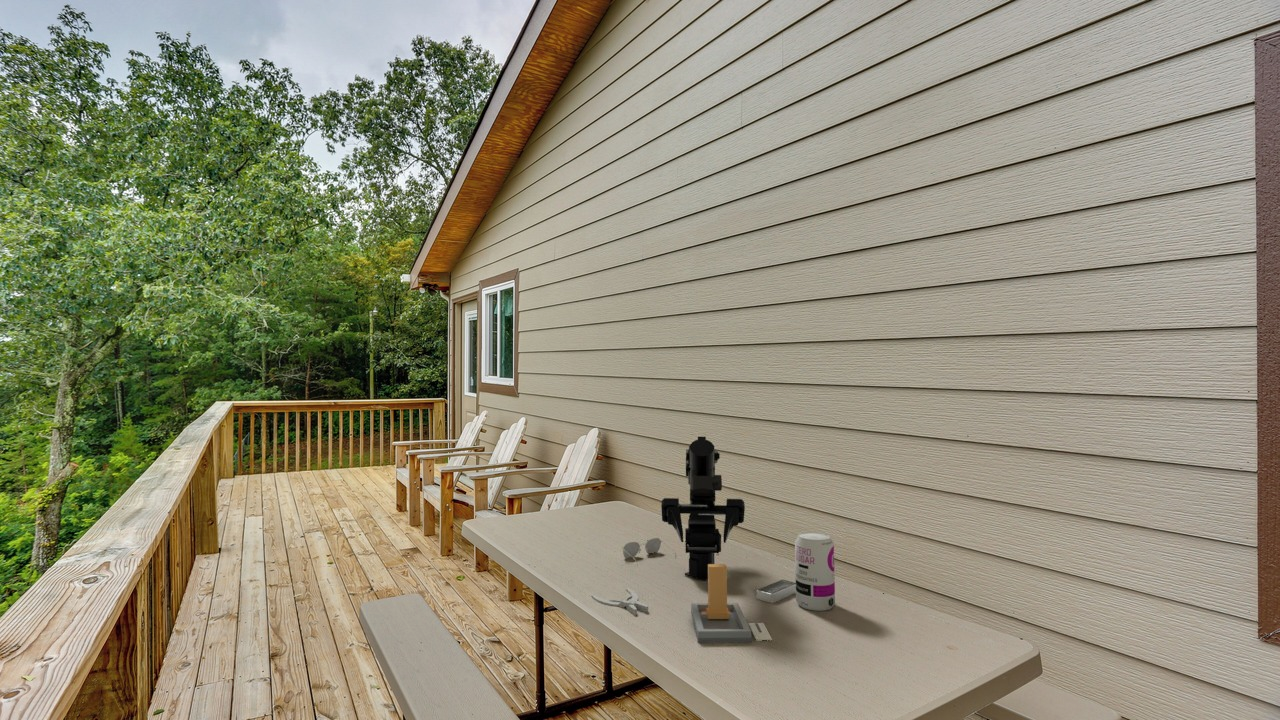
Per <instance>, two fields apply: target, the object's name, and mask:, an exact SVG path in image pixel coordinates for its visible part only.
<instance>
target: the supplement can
mask: <svg viewBox="0 0 1280 720" xmlns="http://www.w3.org/2000/svg"><path fill="white" fill-rule="evenodd" d="M794 558H795V559H794V564H795V566H794V567H795V583H796V593H795V601H796V603H797V604H798V605H799V606H800V607H801V608H803V609H806V610H809V611H813V612H814V611H815V612H824V611H829V610H831V609H832V608H833V607H834V606H835V605H836V587H835V586H836V585H835V583H836V582H835V580H836V579H835V578H836V577H835V576H836V575H835V542H834V541H833V540H832V537H831V535H829V534H827V533H822V532H813V531H811V532H810V531H809V532H805V531H804V532H800V533H798V535H797V538H796V539H795V540H794Z"/></svg>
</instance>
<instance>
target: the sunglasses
mask: <svg viewBox="0 0 1280 720" xmlns="http://www.w3.org/2000/svg"><path fill="white" fill-rule="evenodd" d="M662 543H663V544H664V545H666V546H667V547H668V548H669V549H670V550H671V551H672V552H673V553H674V556H675V558H677V554H676V552H675V551H674V550H673V549H672V548H671V547H670V546H669V545H668V544H666V542H664V541H663V540H661V539H660V538H658V537H652V538H650V539H648V540H647V541H646V543H645V544H644V543H641V544H640V543H639V542H637V541H629V542H626V543H625V545H624V546H623V547H621V550H623V551H622V553H623V558H624V559H628V558H627V557H631V558H632V559H633V560H635V562H636V566H637V565H638V566H639V564H638V562H637V560H636V559H635V557H637V554H640V553H641V550H642V548H641V546H642V545H644V546H645V547H644V549H645V552H646V553H647V555H650V554H649V553H653V554H655V553H654V552H657V553H658V552H659V551H660V548H661V545H662ZM632 556H635V557H632Z"/></svg>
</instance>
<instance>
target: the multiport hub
mask: <svg viewBox="0 0 1280 720" xmlns="http://www.w3.org/2000/svg"><path fill="white" fill-rule="evenodd" d="M755 592H756V600H759V599H760V601H763V600H764V601H763V602H766V601H767V603H769V602H771V604H773V602H774V603H776V601H777V602H779V601H781V600H783V599H785V598H787V597H790V596H793V595H796V581H795V582H794V581H790V580H786V579H780V580H777V581H775V582H772V583H770V584H766V585H764V586H763V587H760V588H757V589H756V591H755ZM778 600H779V601H778Z"/></svg>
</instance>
